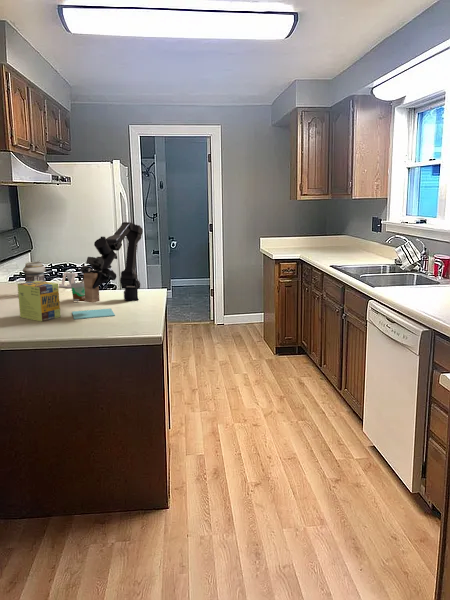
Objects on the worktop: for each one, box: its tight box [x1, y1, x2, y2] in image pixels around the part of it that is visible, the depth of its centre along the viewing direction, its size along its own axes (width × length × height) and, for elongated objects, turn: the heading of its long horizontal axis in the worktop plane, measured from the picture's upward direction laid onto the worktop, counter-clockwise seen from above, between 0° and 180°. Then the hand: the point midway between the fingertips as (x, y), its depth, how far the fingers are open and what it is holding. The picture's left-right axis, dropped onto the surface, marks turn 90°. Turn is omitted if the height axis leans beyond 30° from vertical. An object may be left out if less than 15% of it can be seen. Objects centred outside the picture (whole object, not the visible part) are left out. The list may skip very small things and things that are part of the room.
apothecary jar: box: [22, 261, 47, 283], centre depth 278 cm, size 12×12×18 cm
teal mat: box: [71, 308, 116, 320], centre depth 235 cm, size 18×14×1 cm
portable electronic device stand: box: [58, 271, 78, 289], centre depth 302 cm, size 9×8×8 cm
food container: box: [70, 279, 85, 302], centre depth 263 cm, size 12×6×10 cm, turn 168°
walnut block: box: [83, 272, 100, 303], centre depth 232 cm, size 4×4×13 cm
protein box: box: [17, 281, 61, 322], centre depth 228 cm, size 10×15×16 cm
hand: (89, 287), depth 231 cm, fingers closed on walnut block, 4 cm apart
